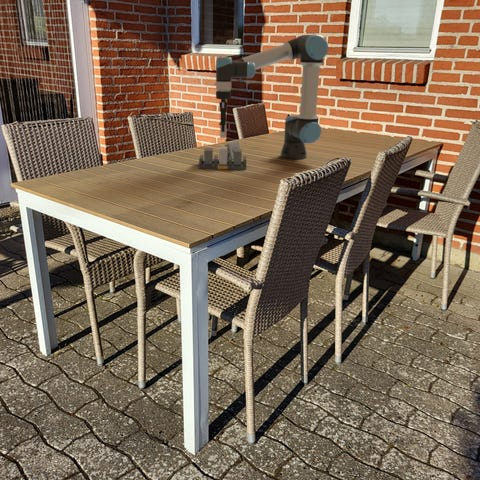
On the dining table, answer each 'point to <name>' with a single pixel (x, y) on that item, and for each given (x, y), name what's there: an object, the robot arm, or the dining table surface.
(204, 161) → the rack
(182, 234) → the dining table surface
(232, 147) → the electrical switch
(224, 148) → the grey block
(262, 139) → the dining table surface
